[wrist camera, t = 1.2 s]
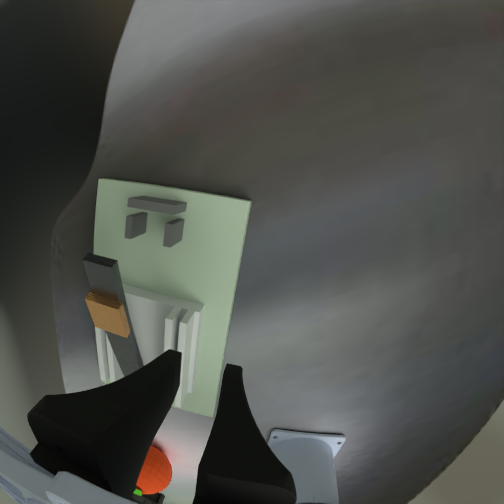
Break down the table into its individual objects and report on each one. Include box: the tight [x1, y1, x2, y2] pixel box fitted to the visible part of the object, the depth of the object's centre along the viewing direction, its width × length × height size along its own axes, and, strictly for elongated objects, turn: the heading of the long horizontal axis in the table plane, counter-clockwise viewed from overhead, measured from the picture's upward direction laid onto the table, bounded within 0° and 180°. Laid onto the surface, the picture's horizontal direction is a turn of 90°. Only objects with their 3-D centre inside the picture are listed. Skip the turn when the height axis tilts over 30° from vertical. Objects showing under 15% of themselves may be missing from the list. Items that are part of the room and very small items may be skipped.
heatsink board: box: [94, 178, 252, 418], centre depth 21 cm, size 20×12×5 cm, turn 170°
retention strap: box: [83, 253, 144, 377], centre depth 17 cm, size 16×2×1 cm, turn 171°
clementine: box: [134, 446, 172, 496], centre depth 25 cm, size 8×7×7 cm
